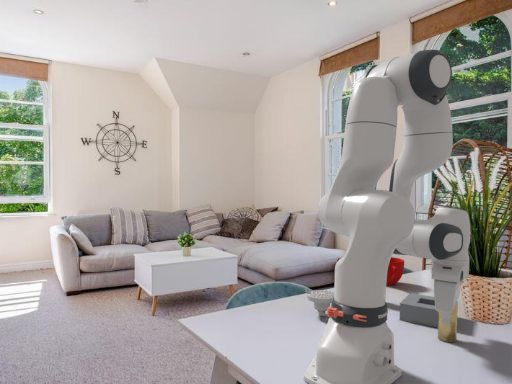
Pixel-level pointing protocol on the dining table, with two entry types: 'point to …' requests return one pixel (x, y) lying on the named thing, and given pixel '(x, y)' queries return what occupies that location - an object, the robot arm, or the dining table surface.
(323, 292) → the showerhead
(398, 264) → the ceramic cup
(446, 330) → the brass pipe
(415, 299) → the fitting block
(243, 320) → the dining table surface
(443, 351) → the dining table surface
